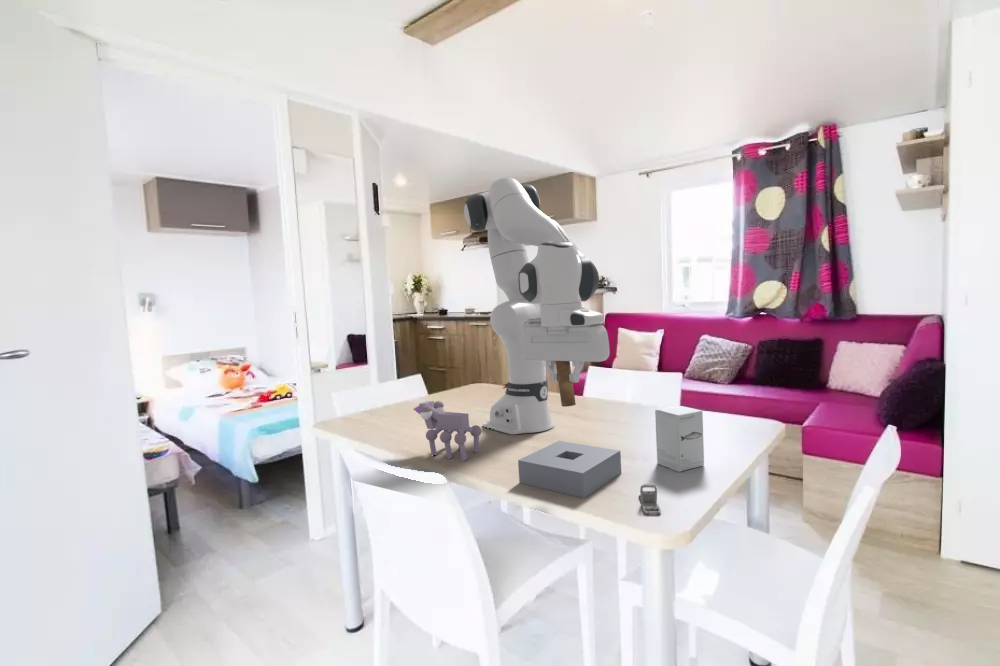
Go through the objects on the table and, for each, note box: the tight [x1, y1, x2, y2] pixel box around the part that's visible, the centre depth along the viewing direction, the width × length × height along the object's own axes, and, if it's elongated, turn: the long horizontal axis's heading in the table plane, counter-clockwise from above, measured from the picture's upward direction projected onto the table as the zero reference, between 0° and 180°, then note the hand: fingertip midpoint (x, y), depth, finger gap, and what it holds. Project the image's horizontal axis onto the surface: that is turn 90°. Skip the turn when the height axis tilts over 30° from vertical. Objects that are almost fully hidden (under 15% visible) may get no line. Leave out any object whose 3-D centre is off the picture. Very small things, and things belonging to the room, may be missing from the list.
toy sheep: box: [413, 400, 482, 462], centre depth 133 cm, size 20×11×14 cm, turn 58°
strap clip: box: [638, 483, 662, 516], centre depth 93 cm, size 8×3×4 cm, turn 172°
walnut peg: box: [555, 361, 576, 407], centre depth 108 cm, size 3×3×10 cm
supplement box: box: [654, 405, 705, 473], centre depth 112 cm, size 7×7×13 cm
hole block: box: [517, 440, 622, 499], centre depth 109 cm, size 16×16×5 cm
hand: (565, 381), depth 108 cm, fingers closed on walnut peg, 3 cm apart
